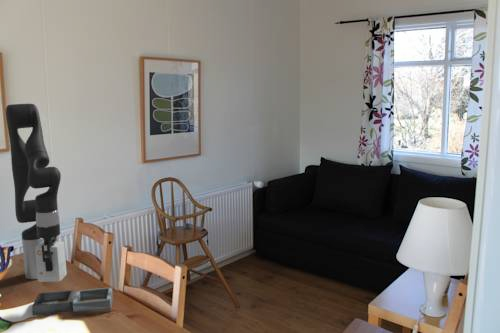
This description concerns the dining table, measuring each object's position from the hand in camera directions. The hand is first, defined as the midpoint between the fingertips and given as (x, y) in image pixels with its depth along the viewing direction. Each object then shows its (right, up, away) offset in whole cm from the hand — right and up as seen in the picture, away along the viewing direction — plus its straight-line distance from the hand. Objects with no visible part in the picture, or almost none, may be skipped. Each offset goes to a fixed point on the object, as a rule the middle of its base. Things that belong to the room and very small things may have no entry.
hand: (51, 266), depth 161 cm
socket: (0, -15, +2) cm, 15 cm away
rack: (+14, -15, +2) cm, 21 cm away
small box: (0, -5, +1) cm, 5 cm away
